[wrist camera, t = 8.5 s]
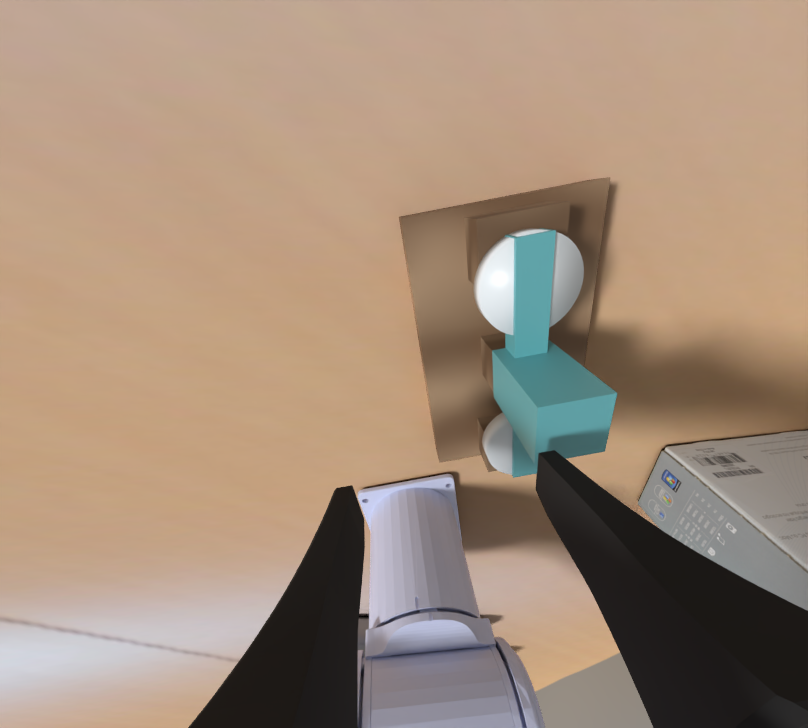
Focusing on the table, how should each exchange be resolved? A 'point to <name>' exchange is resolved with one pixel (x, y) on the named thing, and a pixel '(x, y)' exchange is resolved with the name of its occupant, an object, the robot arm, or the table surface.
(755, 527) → the hard drive box
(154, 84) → the table surface
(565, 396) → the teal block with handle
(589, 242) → the display stand
